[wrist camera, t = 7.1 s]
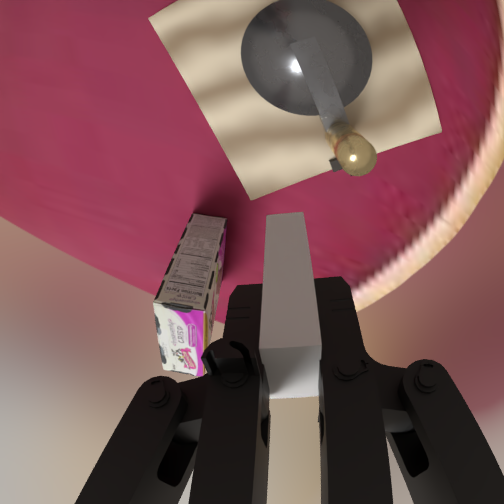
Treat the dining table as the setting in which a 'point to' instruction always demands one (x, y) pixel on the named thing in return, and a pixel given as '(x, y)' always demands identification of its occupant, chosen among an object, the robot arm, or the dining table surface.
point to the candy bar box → (191, 295)
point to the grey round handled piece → (312, 69)
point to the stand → (279, 121)
